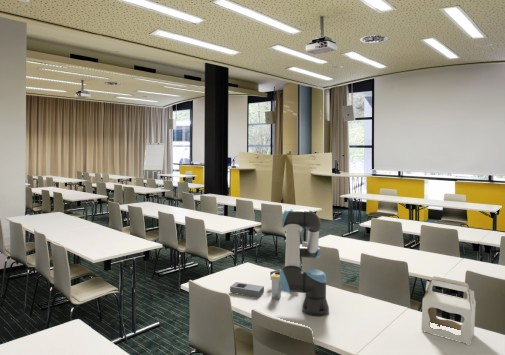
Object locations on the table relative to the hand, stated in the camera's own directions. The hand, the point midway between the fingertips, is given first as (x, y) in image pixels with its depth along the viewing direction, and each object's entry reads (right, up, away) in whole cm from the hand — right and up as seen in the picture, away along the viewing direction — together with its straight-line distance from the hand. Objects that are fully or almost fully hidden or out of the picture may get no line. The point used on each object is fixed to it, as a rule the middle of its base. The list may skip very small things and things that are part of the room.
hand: (280, 279), depth 244 cm
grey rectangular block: (-22, -8, 0) cm, 24 cm away
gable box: (+81, -13, -52) cm, 97 cm away
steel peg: (-4, -9, -8) cm, 13 cm away
